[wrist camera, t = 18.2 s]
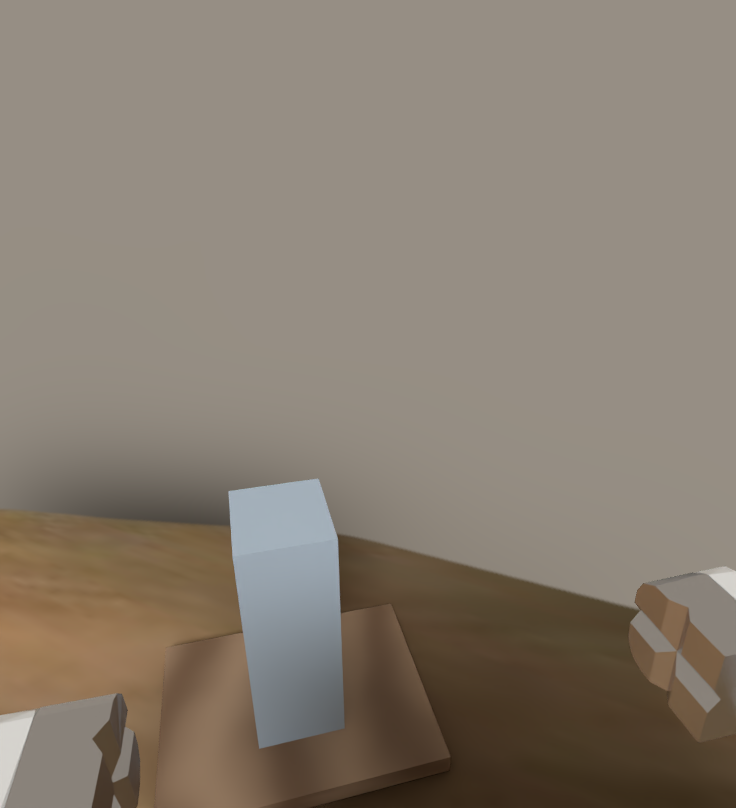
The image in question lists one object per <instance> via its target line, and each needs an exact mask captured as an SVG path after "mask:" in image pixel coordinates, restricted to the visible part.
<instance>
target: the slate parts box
mask: <svg viewBox="0 0 736 808" xmlns="http://www.w3.org/2000/svg"><path fill="white" fill-rule="evenodd" d="M229 505H230V522H231V538H232V554H233V563H234V570H235V577H236V584H237V592H238V599H239V606H240V613H241V621H242V628H243V635H244V642H245V650H246V657H247V664H248V671H249V679H250V686H251V693H252V700H253V708H254V715H255V722H256V729H257V737H258V744H259V749H260V748H265V747H269V746H273V745H277V744H281V743H285V742H290V741H294V740H298V739H302V738H306V737H311V736H315V735H319V734H323V733H327V732H331V731H336V730H340V729H344V728H345V722H344V695H343V667H342V640H341V613H340V586H339V558H338V538H337V535H336V532H335V529H334V525H333V523H332V519H331V516H330V513H329V510H328V507H327V504H326V501H325V497H324V494H323V491H322V488H321V485H320V482H319V479H312V480H306V481H298V482H291V483H284V484H276V485H270V486H263V487H256V488H248V489H241V490H234V491H229Z"/></svg>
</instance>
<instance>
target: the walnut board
mask: <svg viewBox="0 0 736 808" xmlns="http://www.w3.org/2000/svg"><path fill="white" fill-rule="evenodd" d="M341 640H342V667H343V695H344V722H345V728H344V729H340V730H336V731H331V732H327V733H323V734H319V735H315V736H311V737H306V738H302V739H298V740H294V741H290V742H285V743H281V744H277V745H273V746H269V747H265V748H260V749H259V744H258V737H257V729H256V722H255V715H254V708H253V700H252V693H251V686H250V679H249V671H248V664H247V657H246V650H245V642H244V635H243V632H242V633H237V634H232V635H227V636H222V637H217V638H212V639H207V640H202V641H197V642H192V643H186V644H181V645H176V646H171V647H166V655H165V669H164V682H163V696H162V710H161V723H160V737H159V751H158V764H157V778H156V792H155V805H154V808H311V807H315V806H319V805H322V804H326V803H330V802H333V801H337V800H341V799H345V798H348V797H352V796H356V795H360V794H363V793H367V792H371V791H374V790H378V789H382V788H386V787H389V786H393V785H397V784H400V783H404V782H408V781H412V780H415V779H419V778H423V777H427V776H430V775H434V774H438V773H441V772H445V771H449V770H450V761H451V756H450V754H449V751H448V748H447V746H446V743H445V741H444V738H443V736H442V733H441V730H440V728H439V725H438V723H437V720H436V718H435V715H434V713H433V710H432V707H431V705H430V702H429V700H428V697H427V695H426V692H425V689H424V687H423V684H422V682H421V679H420V677H419V674H418V672H417V669H416V666H415V664H414V661H413V659H412V656H411V654H410V651H409V648H408V646H407V643H406V641H405V638H404V636H403V633H402V631H401V628H400V625H399V623H398V620H397V618H396V615H395V613H394V610H393V607H392V605H391V603H390V604H385V605H380V606H375V607H370V608H365V609H359V610H354V611H349V612H344V613H341Z"/></svg>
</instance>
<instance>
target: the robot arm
mask: <svg viewBox="0 0 736 808" xmlns="http://www.w3.org/2000/svg"><path fill="white" fill-rule="evenodd" d="M635 603H636V605H637V606H638V607H639V609H640V610H641V611H640V612H639V613H638V614H637V615H636V616H635V618H634V619H633V620H632V621H631V622H630V628H629V635H628V640H629V644H630V648H631V653H632V656H633V658H634V660H635V662H636V664H637V665H638V667H639V669H640V670H641V671H642V673H643V674H644V675H645V677H646V678H647V679H648V681H649V682H651V683H653V684H655V685H657V686H659V687H660V688H662V689H664V690H666V691H667V699H668V706H669V707H670V708H671V710H672V711H673V712H674V713H675V715H676V716H677V717H678V718H679V720H680V721H681V722H682V723H683V725H684V726H685V727H686V728H687V730H688V731H689V732H690V733H691V734H692V736H693V737H694V738H695V739H696V741H697V742H698V743H701V742H705V741H709V740H713V739H718V738H722V737H726V736H730V735H735V734H736V571H735V570H733V569H731V568H728V567H726V566H723V567H718V568H713V569H708V570H704V571H699V572H696V573H688V574H684V575H679V576H675V577H670V578H666V579H661V580H657V581H653V582H648V583H643V584H642V586H641V587H640V588H639V589H638V590H637V594H636V598H635ZM127 711H128V710H127V707H126V704H125V701H124V699H123V696H122V694H111V695H106V696H100V697H95V698H89V699H84V700H78V701H73V702H67V703H62V704H56V705H51V706H45V707H41V708H37V709H32V710H26V711H21V712H16V713H10V714H5V715H0V808H136V807H137V805H138V796H139V787H140V758H139V750H138V744H137V740H136V737H135V733H134V732H133V731H132V730H130V729H128V728H126V727H125V723H126V717H127Z"/></svg>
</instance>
